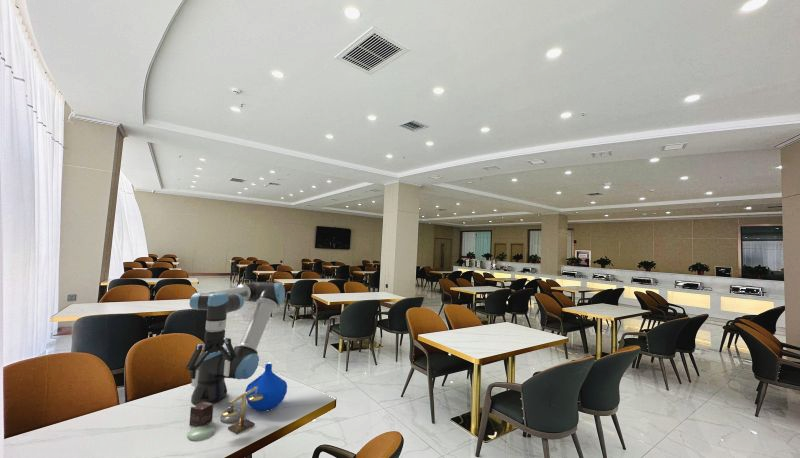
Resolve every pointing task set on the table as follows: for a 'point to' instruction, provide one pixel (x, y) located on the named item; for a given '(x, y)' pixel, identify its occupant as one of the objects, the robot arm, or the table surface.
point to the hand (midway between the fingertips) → (210, 380)
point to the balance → (232, 411)
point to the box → (201, 414)
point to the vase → (267, 390)
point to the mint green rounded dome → (200, 432)
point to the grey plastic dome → (231, 418)
